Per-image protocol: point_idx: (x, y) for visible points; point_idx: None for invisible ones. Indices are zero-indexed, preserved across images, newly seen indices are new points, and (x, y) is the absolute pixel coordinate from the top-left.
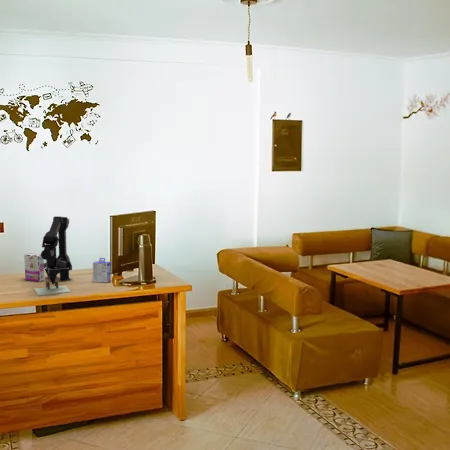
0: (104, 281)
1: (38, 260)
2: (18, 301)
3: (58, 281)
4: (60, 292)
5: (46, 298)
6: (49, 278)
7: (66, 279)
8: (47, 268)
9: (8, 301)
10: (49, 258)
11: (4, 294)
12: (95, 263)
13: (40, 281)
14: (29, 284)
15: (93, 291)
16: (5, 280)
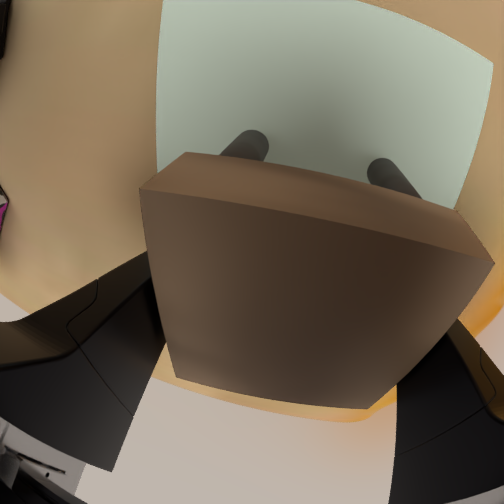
0: None
1: None
2: (385, 403)
3: (454, 220)
4: (465, 174)
5: (473, 318)
6: (346, 388)
7: (4, 12)
8: (72, 475)
9: (351, 418)
10: None
11: (223, 400)
12: None
13: (3, 193)
14: (48, 264)
15: None
16: (14, 302)
